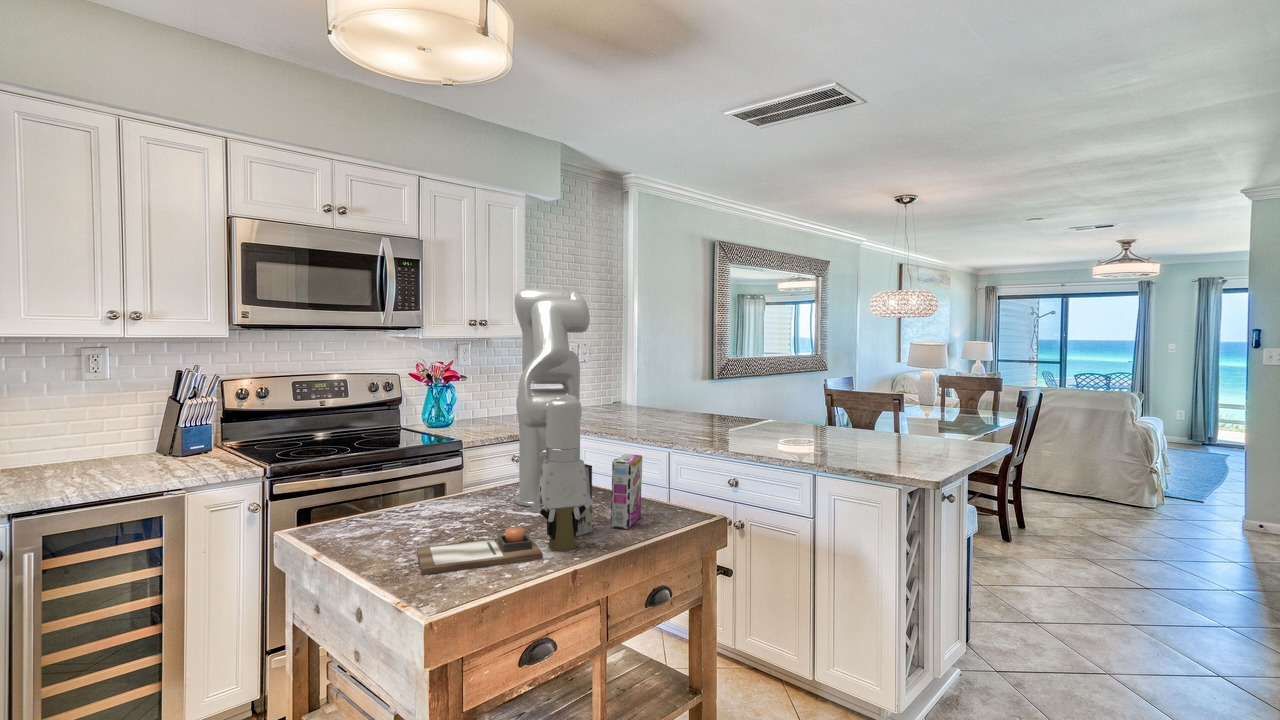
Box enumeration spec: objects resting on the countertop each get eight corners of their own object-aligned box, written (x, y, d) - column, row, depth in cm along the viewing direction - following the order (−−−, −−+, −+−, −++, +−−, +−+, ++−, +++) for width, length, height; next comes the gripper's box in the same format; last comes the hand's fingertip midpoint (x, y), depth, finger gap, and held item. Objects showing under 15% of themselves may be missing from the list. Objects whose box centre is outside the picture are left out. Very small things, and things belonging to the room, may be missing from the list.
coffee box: (593, 532, 150) (594, 465, 149) (573, 538, 145) (573, 469, 145) (568, 523, 156) (568, 459, 156) (547, 529, 152) (548, 463, 151)
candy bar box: (629, 530, 152) (630, 462, 151) (610, 528, 153) (610, 461, 152) (642, 517, 162) (643, 454, 162) (623, 515, 164) (624, 453, 163)
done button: (503, 537, 137) (503, 528, 137) (521, 535, 138) (521, 526, 138) (507, 543, 133) (507, 533, 133) (526, 540, 135) (526, 531, 135)
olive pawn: (571, 551, 136) (571, 501, 136) (544, 549, 137) (545, 499, 137) (579, 542, 142) (580, 494, 142) (554, 540, 143) (554, 493, 143)
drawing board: (417, 553, 134) (417, 540, 134) (528, 539, 144) (528, 527, 144) (422, 575, 122) (422, 560, 122) (542, 558, 132) (542, 545, 132)
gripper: (529, 460, 132) (529, 546, 133) (604, 455, 139) (603, 537, 139) (521, 454, 139) (521, 536, 140) (593, 449, 146) (592, 527, 146)
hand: (562, 535), depth 140 cm, fingers closed on olive pawn, 4 cm apart
